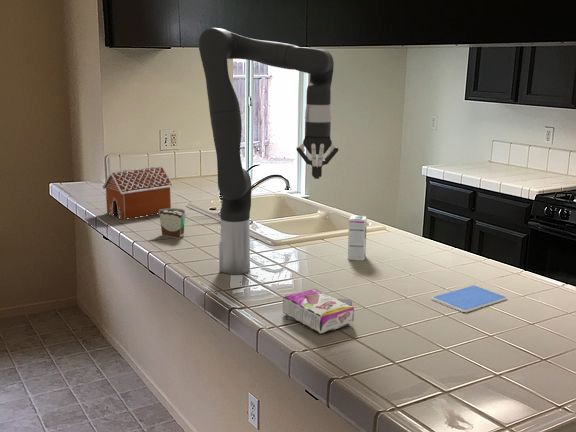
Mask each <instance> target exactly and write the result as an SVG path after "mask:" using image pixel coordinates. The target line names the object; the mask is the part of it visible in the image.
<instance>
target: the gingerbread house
mask: <svg viewBox="0 0 576 432" xmlns="http://www.w3.org/2000/svg"><path fill="white" fill-rule="evenodd" d="M173 186H174V184H173V182H172V180H171V179H170V177H169V175H168V172H167V171H166V169H165V168H164V167H163V166H162V165H157V166H154V165H153V166H145V167H141V168H129V169H121V170H115V171H112V172H110V173H109V174H108V175H107V177H106V179H105V180H104V183H103V184H102V189H103V190H104V189H105V194H106V195H105V198H106V199H105V200H106V213H110V214H112V215H113V214H115V215H116V213H115V212H117V218H118V217H120V218H123V219H127V218H134V219H136V218H135V217H140V216H146V215H151V214H157V213H159V210H160V209H166V208H172V201H171V199H172V197H171V194H172V193H171V188H173ZM110 214H109V215H110ZM112 215H111V216H112ZM157 215H158V214H157ZM151 216H152V215H151ZM146 217H147V216H146ZM120 218H119V219H120ZM140 218H141V217H140ZM123 219H122V220H123Z"/></svg>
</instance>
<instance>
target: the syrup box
mask: <svg viewBox="0 0 576 432" xmlns="http://www.w3.org/2000/svg"><path fill="white" fill-rule="evenodd" d="M347 233H348V235H347V236H348V237H347V241H348V242H347V243H348V244H347V259H348V260H349V261H350V260H352V261H363V262H364V260H365V258H366V253H367V250H366V249H367V216H366V215H361V214H359V215H358V214H356V215H350V217H349V218H348V231H347Z"/></svg>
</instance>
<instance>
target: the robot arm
mask: <svg viewBox="0 0 576 432" xmlns="http://www.w3.org/2000/svg"><path fill="white" fill-rule="evenodd" d="M198 51H199V55H200V59H201V64H202V68H203V72H204V76H205V85H206V94H207V100H208V109H209V118H210V125H211V130H212V137H213V144H214V148H215V149H214V150H215V155H216V163H217V164H216V165H217V188H218V191H219V193H220V194H221V196H222V204H221V208H220V215H219V216H220V242H219V243H218V254H219V255H218V256H219V257H218V262H219V263H218V266H219V269H218V270H219V272H220V273H223V274H227V275H242V274H246V273H248V272H249V271H250V269H251V268H250V267H251V263H250V262H251V259H250V258H251V254H250V253H251V251H250V250H251V249H250V248H251V247H250V246H251V244H250V243H251V242H250V241H251V235H250V231H251V230H250V224H251V223H250V219H251V218H250V216H251V207H252V179H251V176H250V173H249V172H248V171H247V169H245V168H243V165H242V158H241V146H242V145H241V143H242V131H243V130H242V129H243V128H242V115H241V106H240V103H239V98H238V97H237V94H236V91H235V89H234V86H233V85H232V81H231V78H230V75H229V67H228V66H229V65H228V60H234V59H235V60H236V59H237V60H247V61H252V62H257V63H259V64H263V65H265V66H269V67H274V68H279V69H286V70H290V71H291V70H293V71H297V72H298V71H299V72H302V73H306V74H309V84H308V85H307V88H306V98H305V99H306V103H305V104H306V106H305V112H304V113H305V115H304V138H303V141H302V143H301V144H300V145H299V146H296V148H295V149H296V151H297V153H298V154H299V155H300V157H301V158H302V160H303V161H304V162H305V164H306V165H310V166H311V175H312V176H311V177H312V178H313V179H314V180H319V179H320V178H322V175H323V170H322V169H323V168H322V167H323V166H325V165H328V164H329V163H330V161H331V160H332V159H333V158H334V157H335V155H336V154H337V153H338V152H339V148H338V147H337V146H336V145H334V144H333V142H332V139H331V129H332V128H331V127H332V125H331V124H332V123H331V122H332V121H331V120H332V110H331V109H332V108H331V98H332V97H331V93H332V92H331V87H332V81H333V76H334V66H335V63H334V59H333V58H334V57H333V55H332V54H331V53H330V52H329V51H328V50H325V49H318V48H309V47H303V46H302V47H301V46H298V45H296V44H292V43H291V44H290V43H285V42H278V41H271V40H261V39H254V38H251V37H250V38H249V37H247V36H243V35H239V34H237V33H234V32H232V31H228V30H227V29H224V28H221V27H220V28H219V27H218V28H217V27H209V28H208V27H207V28H206V29H204V30H203V31H202V32H201V34H200V35H199V38H198ZM305 149H306V151H308V153H309V154H310V156H311V157H310V158H311V159H310V158H309V157H308V156H307V155H306V152H305ZM327 151H329V153H328V154H327V155H326V157H324V155H325V154H326V153H327Z"/></svg>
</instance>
